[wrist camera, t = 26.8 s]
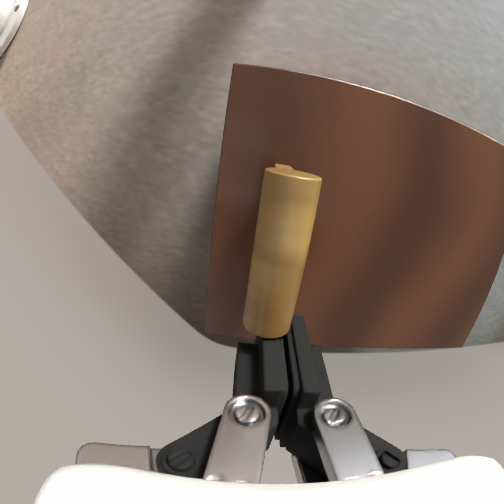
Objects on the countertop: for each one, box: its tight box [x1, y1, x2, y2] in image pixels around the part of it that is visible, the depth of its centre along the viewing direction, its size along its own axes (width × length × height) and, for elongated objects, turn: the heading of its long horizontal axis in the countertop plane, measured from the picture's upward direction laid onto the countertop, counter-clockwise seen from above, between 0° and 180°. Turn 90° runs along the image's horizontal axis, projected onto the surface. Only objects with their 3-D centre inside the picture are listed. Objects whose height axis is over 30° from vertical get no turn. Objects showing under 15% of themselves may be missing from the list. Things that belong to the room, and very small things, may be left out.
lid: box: [205, 63, 504, 348], centre depth 11 cm, size 16×13×5 cm
